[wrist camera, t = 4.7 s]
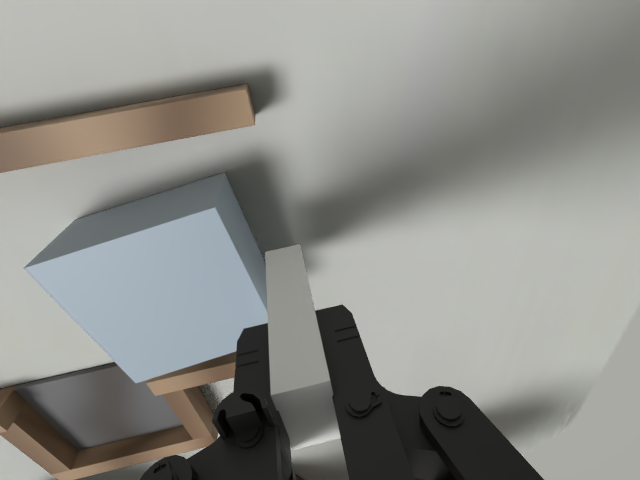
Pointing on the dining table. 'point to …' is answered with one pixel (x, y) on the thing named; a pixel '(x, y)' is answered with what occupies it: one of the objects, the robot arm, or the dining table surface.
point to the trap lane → (110, 380)
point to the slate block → (160, 277)
